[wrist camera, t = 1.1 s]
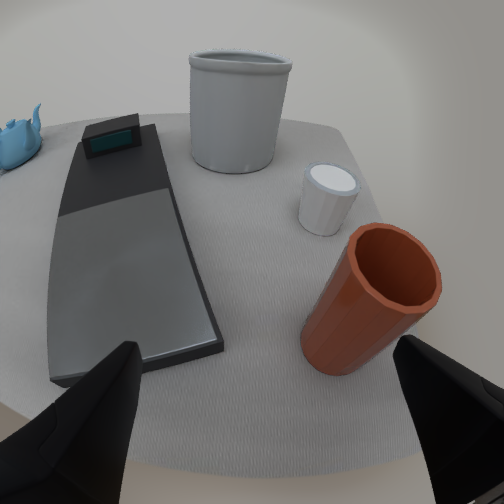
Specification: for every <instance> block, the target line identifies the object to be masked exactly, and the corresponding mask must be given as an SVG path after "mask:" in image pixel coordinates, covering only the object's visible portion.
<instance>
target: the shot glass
mask: <svg viewBox="0 0 504 504" xmlns="http://www.w3.org/2000/svg"><path fill="white" fill-rule="evenodd" d="M360 189H361V186H360V181H359V180H358V179H357V177H356V176H355V175H354V174H353V173H351V172H350V171H349V170H347V169H345V168H343V167H341V166H339V165H336V164H333V163H329V162H315V163H310V164H309V165H308V166H307V167H306V168H305V173H304V181H303V188H302V195H301V202H300V209H299V216H298V219H299V221H300V224H301V225H302V226H303V227H304V228H305V229H306V230H308V231H309V232H311V233H313V234H316V235H320V236H330V235H332V234H335V233H336V232H337V230H338V229H339V227H340V226H341V224H342V222H343V220H344V219H345V217H346V215H347V213H348V211H349V210H350V208H351V206H352V204H353V202H354V200H355V198H356V197H357V195H358V193H359V191H360Z"/></svg>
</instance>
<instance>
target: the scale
mask: <svg viewBox="0 0 504 504" xmlns="http://www.w3.org/2000/svg"><path fill="white" fill-rule="evenodd" d="M81 140H82V142H79V143H78V145H77V147H76V150H75V153H74V157H73V160H72V163H71V166H70V170H69V173H68V177H67V180H66V184H65V188H64V192H63V196H62V200H61V204H60V209H59V214H58V219H57V224H56V229H55V235H54V241H53V248H52V256H51V264H50V274H49V285H48V303H47V346H48V363H49V375H50V381H51V382H53V383H55V384H57V385H59V386H61V387H62V388H66V387H71V386H73V385H74V384H75V383H76V382H77V381H78V380H79V379H81V378H82V377H83V376H84V375H85V374H86V373H88V372H89V371H90V370H91V369H92V368H93V367H94V366H96V365H97V364H98V363H99V362H100V361H101V360H103V359H104V358H105V357H106V356H107V355H108V354H110V353H111V352H112V351H113V350H114V349H115V348H117V347H118V346H119V345H120V344H121V343H123V342H124V341H135V342H137V343H138V345H139V349H140V352H141V356H142V360H143V368H142V373H145V372H149V371H153V370H157V369H161V368H165V367H169V366H173V365H177V364H181V363H184V362H188V361H192V360H195V359H199V358H202V357H205V356H209V355H212V354H215V353H219V352H222V351H224V340H223V338H222V335H221V333H220V330H219V328H218V325H217V322H216V320H215V317H214V314H213V312H212V309H211V306H210V303H209V301H208V298H207V295H206V292H205V289H204V287H203V284H202V281H201V278H200V275H199V272H198V269H197V266H196V263H195V261H194V258H193V255H192V251H191V248H190V245H189V242H188V239H187V236H186V233H185V230H184V227H183V223H182V220H181V217H180V214H179V210H178V207H177V204H176V200H175V197H174V194H173V190H172V187H171V183H170V180H169V176H168V172H167V169H166V165H165V161H164V158H163V154H162V150H161V146H160V142H159V139H158V135H157V131H156V126H155V124H151V125H146V126H141V127H140V124H139V115H138V113H137V114H132V115H128V116H123V117H119V118H115V119H111V120H107V121H103V122H99V123H96V124H92V125H89V126H86V128H85V131H84V133H83V136H82V139H81Z"/></svg>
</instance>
